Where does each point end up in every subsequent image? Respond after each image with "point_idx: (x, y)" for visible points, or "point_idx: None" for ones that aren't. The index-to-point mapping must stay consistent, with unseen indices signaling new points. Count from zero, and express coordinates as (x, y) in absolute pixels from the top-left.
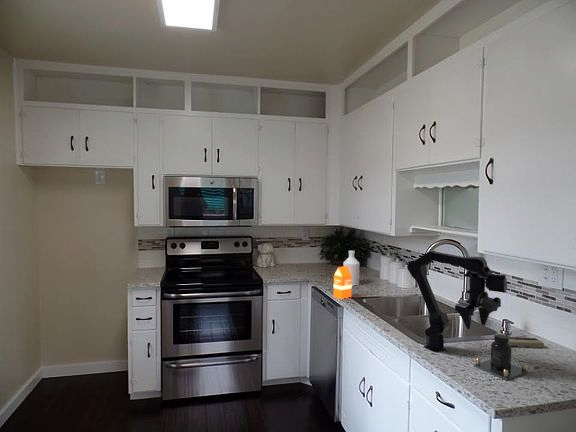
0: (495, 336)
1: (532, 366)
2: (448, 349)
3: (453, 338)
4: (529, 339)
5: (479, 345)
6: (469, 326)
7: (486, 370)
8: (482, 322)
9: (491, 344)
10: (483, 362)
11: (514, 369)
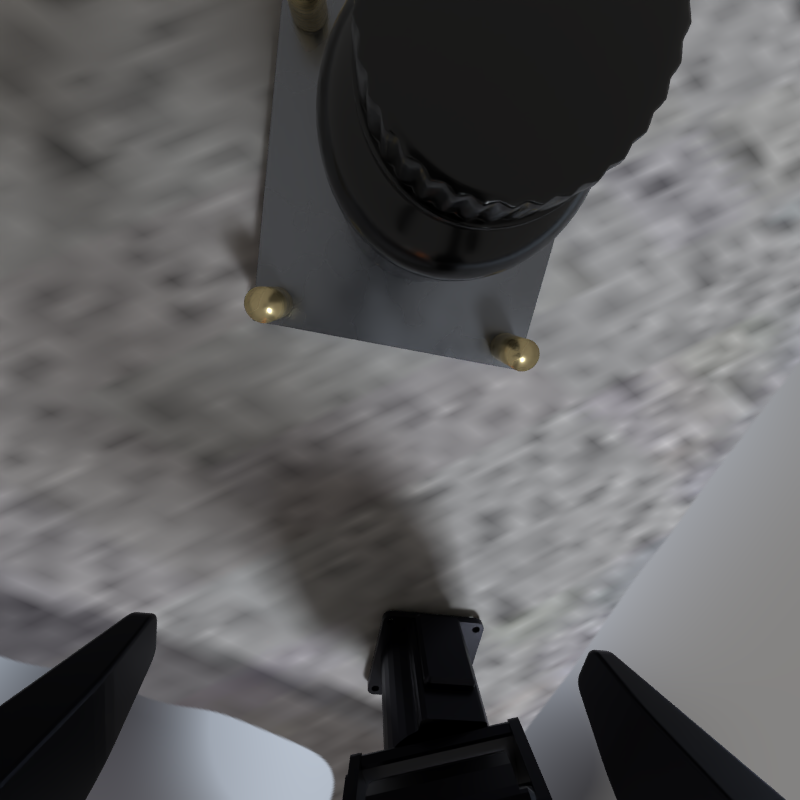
0: (632, 143)
1: (87, 14)
2: (365, 601)
3: (142, 683)
4: None
5: (82, 528)
6: (657, 697)
7: (544, 263)
8: (119, 705)
9: (534, 254)
10: (427, 341)
11: None
